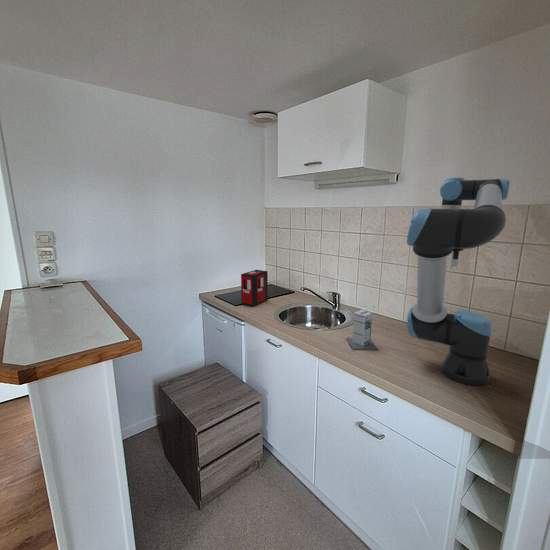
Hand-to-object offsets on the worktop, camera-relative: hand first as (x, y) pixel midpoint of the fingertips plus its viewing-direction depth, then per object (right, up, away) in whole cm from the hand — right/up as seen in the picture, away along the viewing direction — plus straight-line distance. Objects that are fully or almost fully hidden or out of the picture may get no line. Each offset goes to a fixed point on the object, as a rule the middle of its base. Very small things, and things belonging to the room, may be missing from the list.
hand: (443, 264), depth 136 cm
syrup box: (-36, -36, +3) cm, 51 cm away
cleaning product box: (-88, -23, +63) cm, 111 cm away
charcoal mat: (-36, -36, +3) cm, 51 cm away
